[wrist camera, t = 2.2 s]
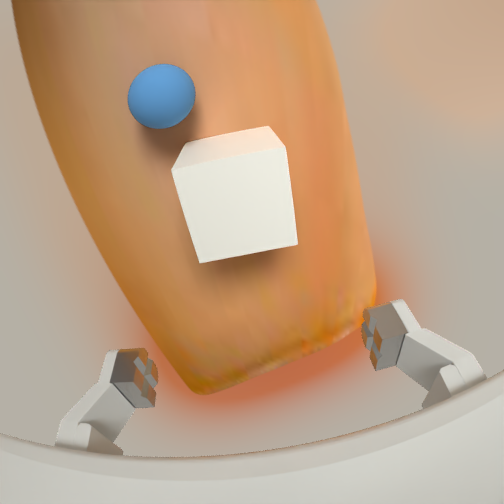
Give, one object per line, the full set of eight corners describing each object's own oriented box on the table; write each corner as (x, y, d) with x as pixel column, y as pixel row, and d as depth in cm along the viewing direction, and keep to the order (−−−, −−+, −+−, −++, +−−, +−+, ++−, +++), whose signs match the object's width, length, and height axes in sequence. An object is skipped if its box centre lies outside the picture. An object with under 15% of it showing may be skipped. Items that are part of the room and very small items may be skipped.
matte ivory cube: (185, 142, 24) (171, 170, 18) (268, 125, 24) (285, 147, 18) (204, 215, 28) (199, 263, 22) (280, 200, 28) (297, 244, 21)
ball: (132, 75, 20) (111, 76, 16) (191, 58, 20) (183, 54, 16) (146, 129, 23) (129, 143, 19) (203, 114, 23) (198, 124, 19)
